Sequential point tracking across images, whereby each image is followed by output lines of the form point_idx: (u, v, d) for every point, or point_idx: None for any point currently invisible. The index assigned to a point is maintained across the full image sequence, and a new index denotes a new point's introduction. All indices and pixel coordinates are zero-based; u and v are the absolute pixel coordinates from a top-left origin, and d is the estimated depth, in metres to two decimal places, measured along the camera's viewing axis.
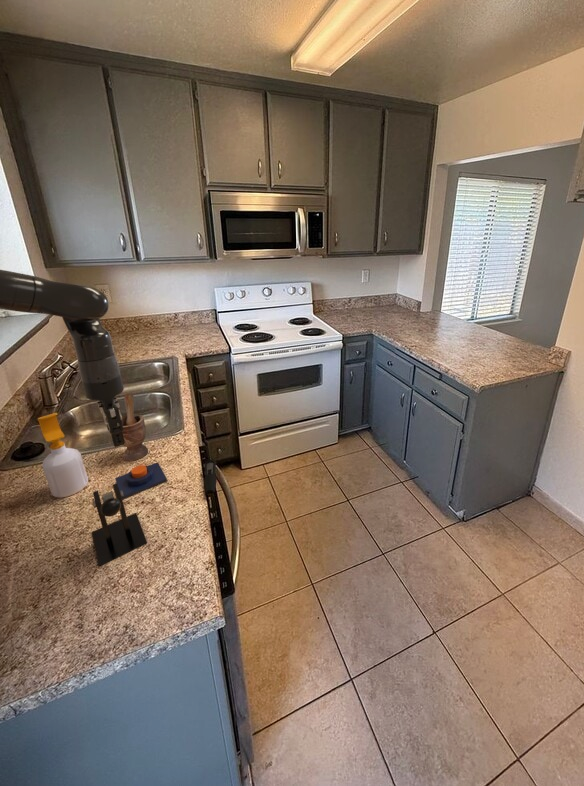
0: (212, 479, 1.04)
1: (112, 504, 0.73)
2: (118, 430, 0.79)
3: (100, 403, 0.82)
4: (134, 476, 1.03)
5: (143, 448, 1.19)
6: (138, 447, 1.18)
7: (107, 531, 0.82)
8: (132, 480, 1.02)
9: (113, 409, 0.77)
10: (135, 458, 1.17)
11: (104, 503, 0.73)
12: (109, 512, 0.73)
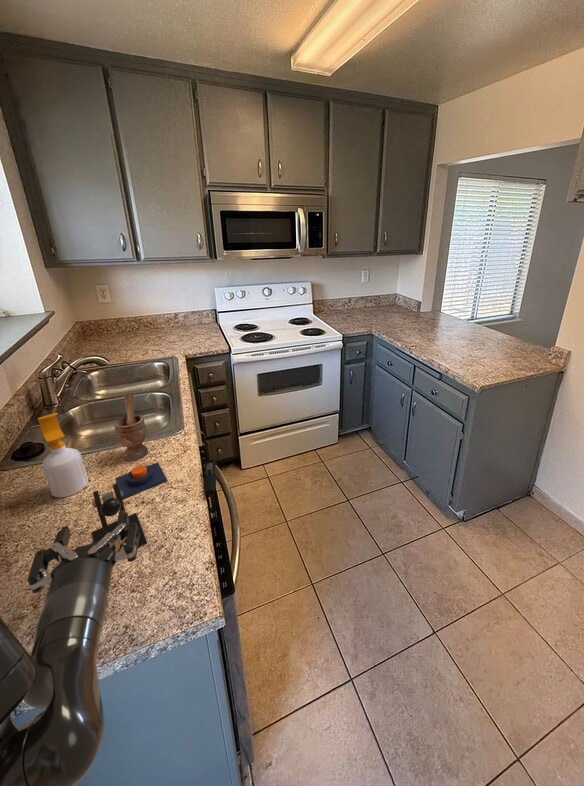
0: (211, 479, 1.04)
1: (112, 504, 0.73)
2: None
3: (88, 555, 0.55)
4: (134, 476, 1.03)
5: (143, 448, 1.19)
6: (138, 447, 1.18)
7: (107, 531, 0.82)
8: (132, 480, 1.02)
9: (31, 588, 0.52)
10: (135, 458, 1.17)
11: (104, 503, 0.73)
12: (109, 512, 0.73)
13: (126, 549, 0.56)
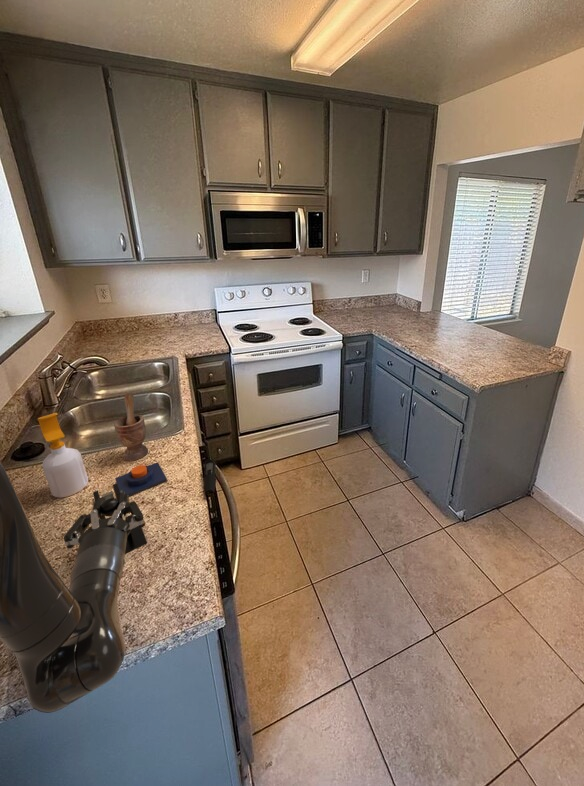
0: (211, 480, 1.04)
1: (112, 504, 0.73)
2: None
3: (108, 526, 0.67)
4: (134, 476, 1.03)
5: (143, 448, 1.19)
6: (138, 447, 1.18)
7: None
8: (132, 480, 1.02)
9: None
10: (135, 458, 1.17)
11: (104, 503, 0.73)
12: (109, 512, 0.73)
13: (138, 517, 0.70)
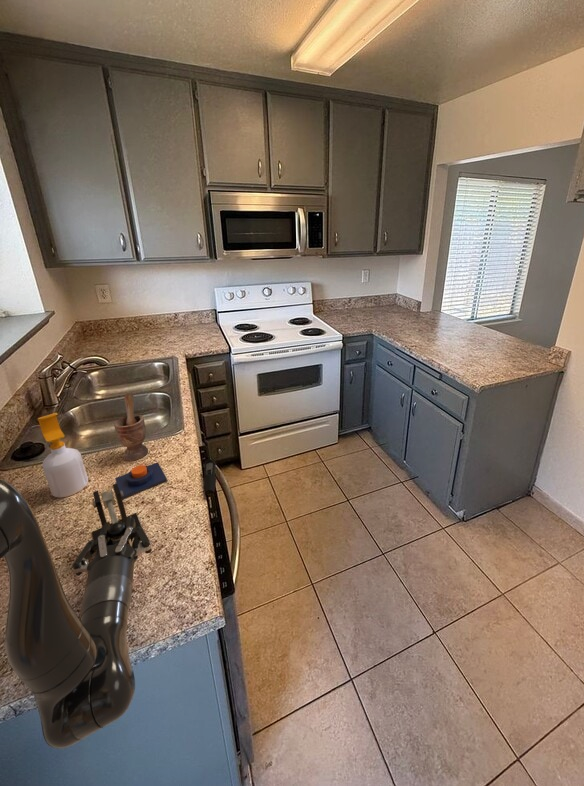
0: (211, 480, 1.04)
1: (120, 533, 0.74)
2: None
3: (116, 554, 0.69)
4: (134, 476, 1.03)
5: (143, 448, 1.19)
6: (138, 447, 1.18)
7: None
8: (132, 480, 1.02)
9: (74, 571, 0.68)
10: (135, 458, 1.17)
11: (112, 531, 0.74)
12: (117, 539, 0.74)
13: (145, 544, 0.71)
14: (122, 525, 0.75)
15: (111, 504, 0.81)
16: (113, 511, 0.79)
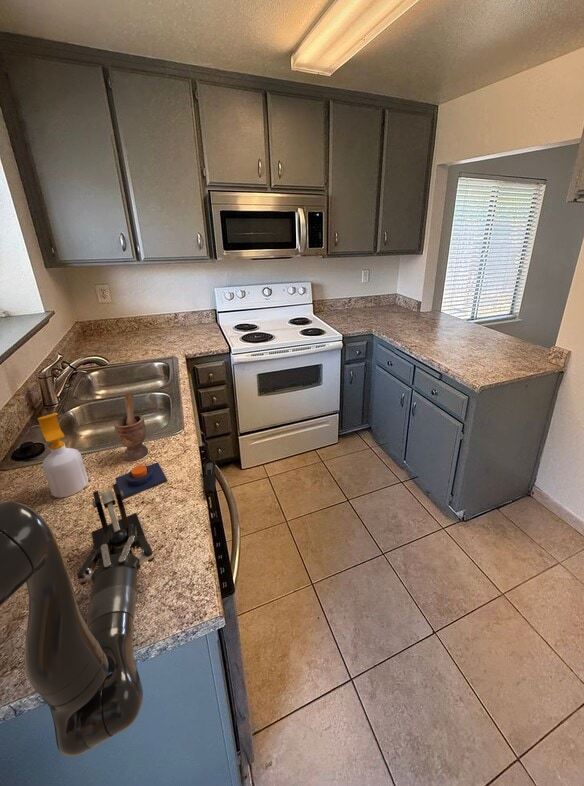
0: (211, 480, 1.04)
1: (123, 543, 0.76)
2: None
3: (120, 563, 0.71)
4: (134, 476, 1.03)
5: (143, 448, 1.19)
6: (138, 447, 1.18)
7: None
8: (132, 480, 1.02)
9: (79, 580, 0.69)
10: (135, 458, 1.17)
11: (115, 541, 0.75)
12: (119, 547, 0.77)
13: (147, 553, 0.73)
14: (125, 535, 0.77)
15: (112, 507, 0.81)
16: (114, 515, 0.80)
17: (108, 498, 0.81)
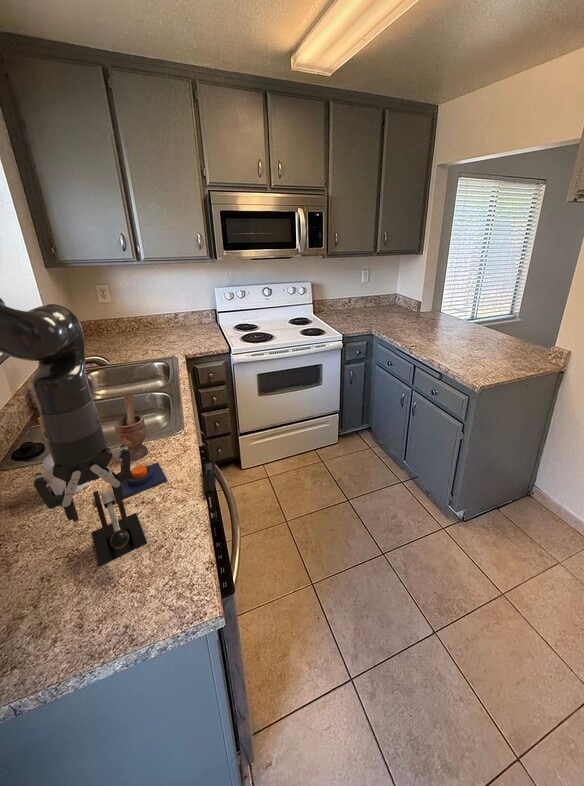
0: (211, 480, 1.03)
1: (123, 543, 0.76)
2: None
3: None
4: (134, 476, 1.03)
5: (143, 448, 1.19)
6: (138, 447, 1.18)
7: (107, 531, 0.82)
8: (132, 480, 1.02)
9: (34, 480, 0.56)
10: (135, 458, 1.17)
11: (115, 542, 0.76)
12: None
13: (121, 446, 0.65)
14: (125, 535, 0.77)
15: (112, 507, 0.81)
16: (114, 516, 0.80)
17: (108, 498, 0.81)
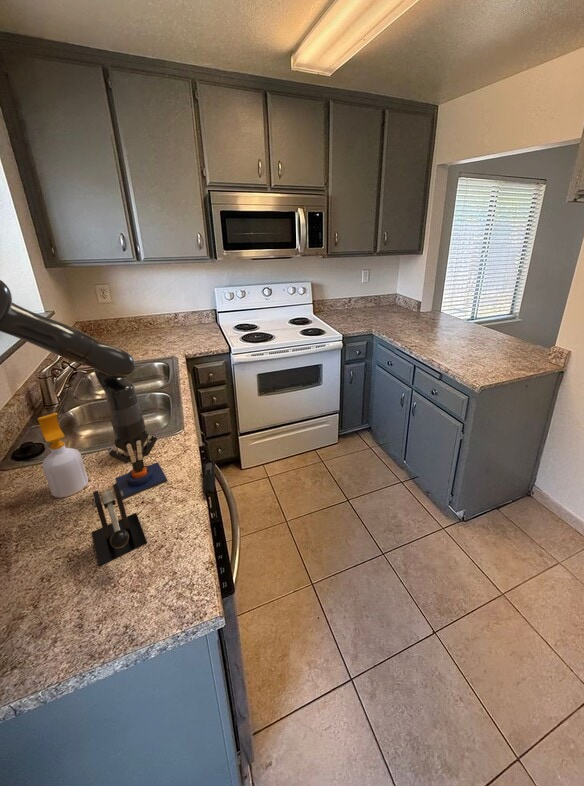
0: (210, 480, 1.03)
1: (123, 543, 0.76)
2: None
3: None
4: (134, 477, 1.03)
5: None
6: None
7: (107, 531, 0.82)
8: (132, 480, 1.02)
9: None
10: None
11: (115, 542, 0.76)
12: None
13: (152, 434, 1.05)
14: (125, 535, 0.77)
15: (112, 507, 0.81)
16: (114, 516, 0.80)
17: (108, 498, 0.81)
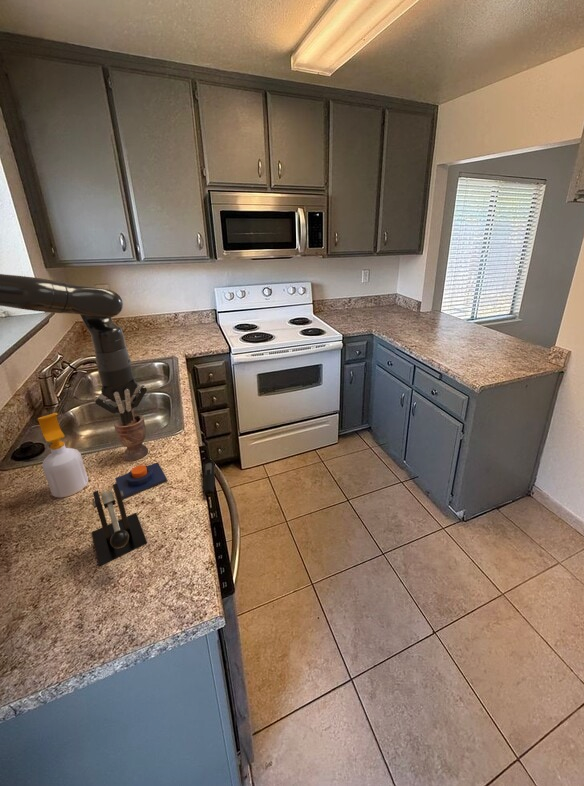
0: (210, 480, 1.03)
1: (123, 543, 0.76)
2: None
3: None
4: (134, 476, 1.03)
5: (143, 448, 1.19)
6: (138, 447, 1.18)
7: (107, 531, 0.82)
8: (132, 480, 1.02)
9: (95, 401, 0.92)
10: (135, 458, 1.17)
11: (115, 542, 0.76)
12: None
13: (142, 385, 1.00)
14: (125, 535, 0.77)
15: (112, 507, 0.81)
16: (114, 516, 0.80)
17: (108, 498, 0.81)
